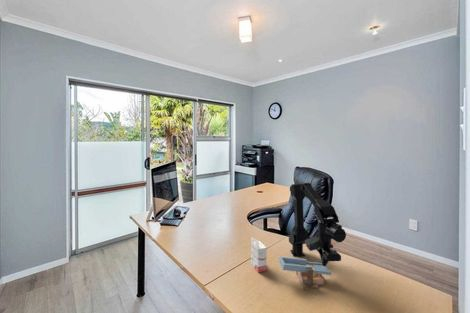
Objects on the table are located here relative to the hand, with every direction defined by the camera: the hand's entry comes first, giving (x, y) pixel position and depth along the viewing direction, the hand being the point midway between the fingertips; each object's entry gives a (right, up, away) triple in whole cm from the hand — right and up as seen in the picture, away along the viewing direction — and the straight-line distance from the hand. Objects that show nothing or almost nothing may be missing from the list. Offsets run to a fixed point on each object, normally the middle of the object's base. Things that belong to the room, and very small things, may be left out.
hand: (323, 265), depth 102 cm
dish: (-6, -7, 0) cm, 9 cm away
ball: (-5, -4, 0) cm, 7 cm away
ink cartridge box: (-29, -6, +11) cm, 31 cm away
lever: (-9, -1, 0) cm, 9 cm away
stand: (-8, -7, 0) cm, 11 cm away
